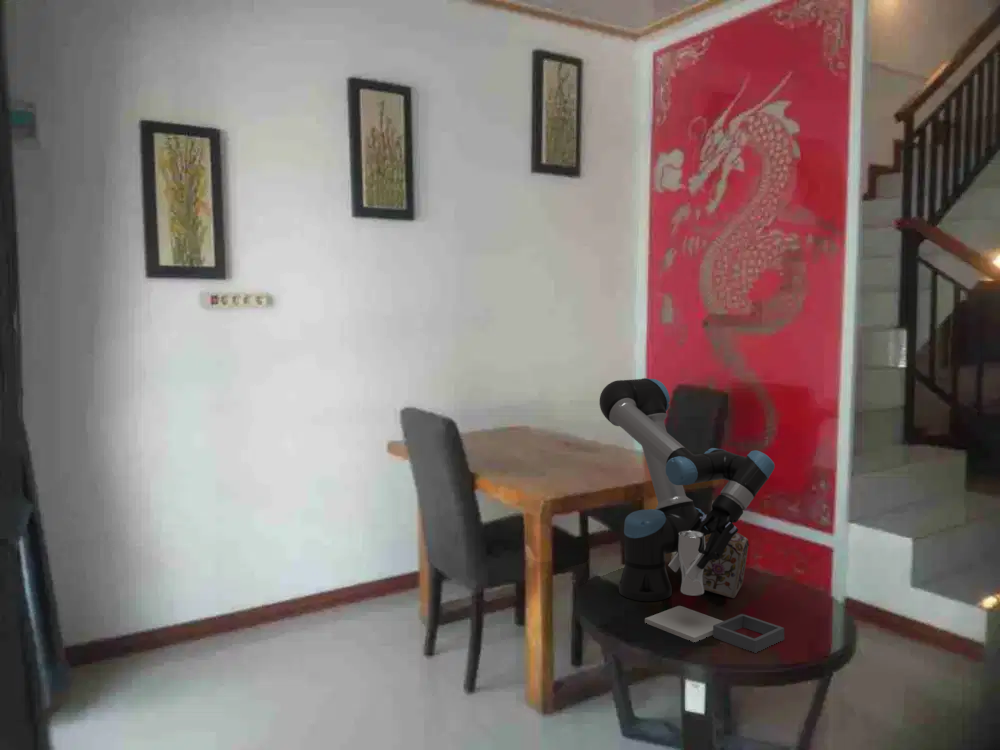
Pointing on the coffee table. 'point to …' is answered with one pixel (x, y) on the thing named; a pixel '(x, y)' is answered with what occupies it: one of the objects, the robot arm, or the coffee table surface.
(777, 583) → the coffee table surface
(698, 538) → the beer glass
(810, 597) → the coffee table surface
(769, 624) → the holder
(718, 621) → the board
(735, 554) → the decorative jar
